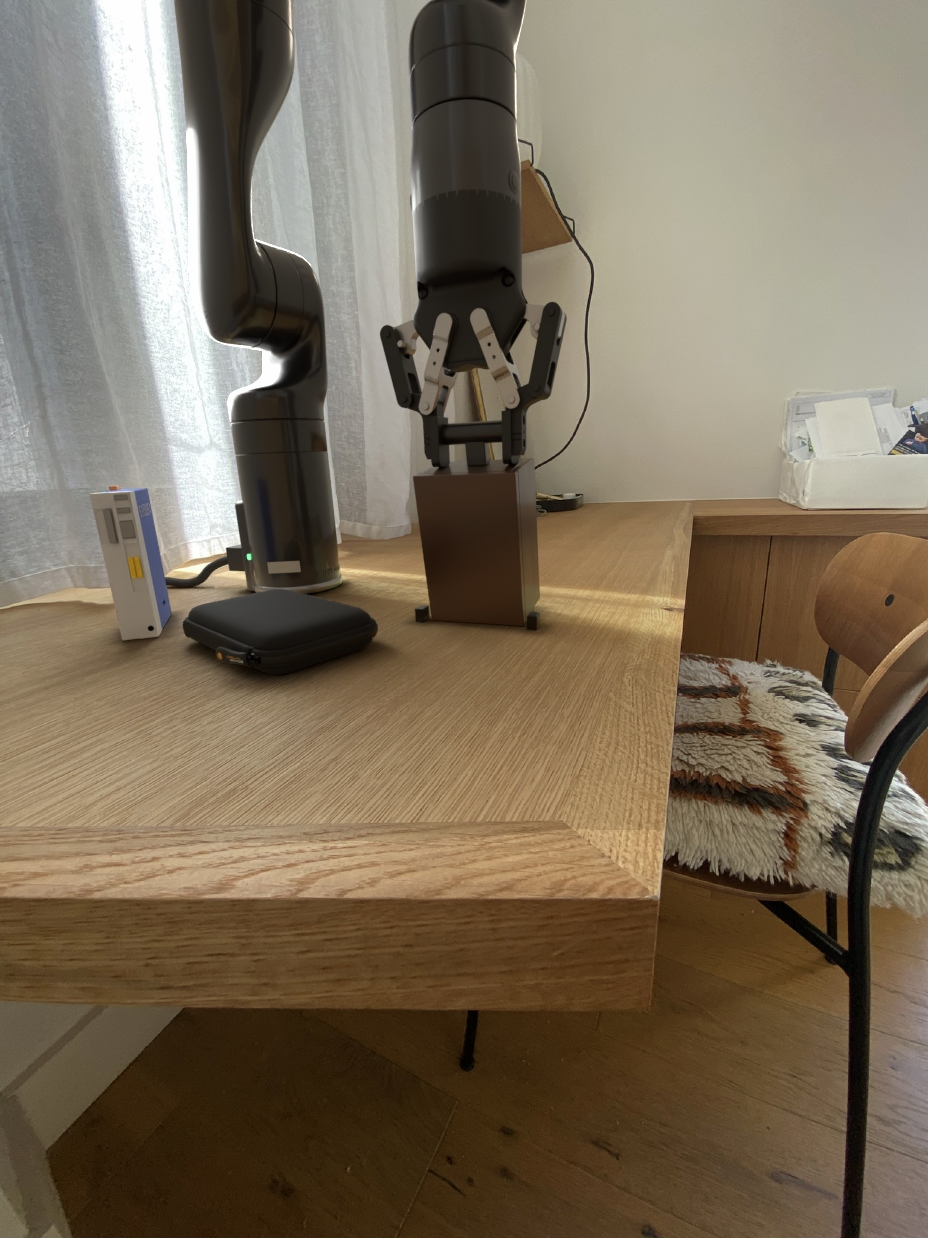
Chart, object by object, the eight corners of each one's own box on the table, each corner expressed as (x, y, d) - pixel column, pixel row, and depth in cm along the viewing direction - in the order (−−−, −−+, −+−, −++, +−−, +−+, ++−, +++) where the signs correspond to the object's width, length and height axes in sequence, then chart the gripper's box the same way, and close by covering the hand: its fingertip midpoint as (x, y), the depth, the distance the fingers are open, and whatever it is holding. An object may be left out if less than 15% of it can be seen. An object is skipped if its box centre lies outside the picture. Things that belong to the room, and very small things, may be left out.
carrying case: (163, 646, 43) (253, 694, 33) (155, 608, 42) (245, 646, 32) (287, 615, 50) (391, 647, 41) (283, 582, 50) (388, 607, 40)
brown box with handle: (512, 425, 38) (532, 415, 43) (406, 431, 40) (436, 421, 45) (523, 626, 44) (540, 597, 49) (431, 620, 47) (455, 593, 52)
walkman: (139, 617, 52) (111, 485, 49) (172, 613, 53) (146, 483, 49) (120, 641, 45) (85, 489, 41) (158, 637, 46) (128, 487, 42)
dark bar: (415, 622, 47) (414, 608, 46) (421, 618, 48) (420, 605, 47) (536, 631, 43) (536, 616, 43) (540, 626, 44) (540, 612, 44)
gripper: (580, 211, 39) (576, 461, 44) (397, 246, 44) (411, 467, 49) (560, 160, 32) (558, 462, 37) (347, 208, 37) (368, 469, 42)
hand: (474, 464), depth 43 cm, fingers closed on brown box with handle, 5 cm apart
